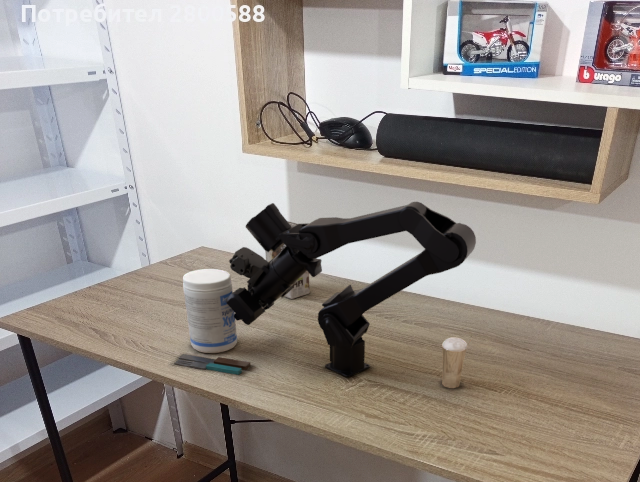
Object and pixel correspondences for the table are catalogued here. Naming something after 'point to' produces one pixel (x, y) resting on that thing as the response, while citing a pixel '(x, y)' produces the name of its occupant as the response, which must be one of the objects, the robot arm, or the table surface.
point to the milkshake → (453, 361)
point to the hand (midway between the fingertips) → (236, 318)
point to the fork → (209, 366)
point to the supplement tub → (209, 310)
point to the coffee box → (301, 284)
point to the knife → (218, 361)
